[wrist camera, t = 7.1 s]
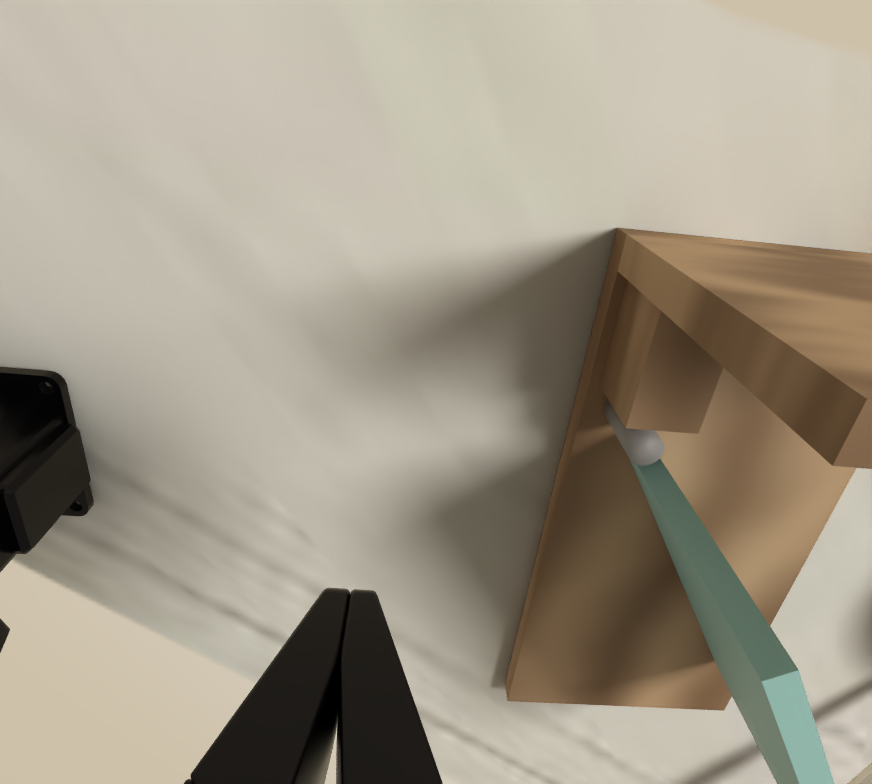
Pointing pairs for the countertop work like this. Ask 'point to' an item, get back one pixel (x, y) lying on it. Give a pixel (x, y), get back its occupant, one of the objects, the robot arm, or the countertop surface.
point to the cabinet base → (695, 457)
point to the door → (731, 623)
